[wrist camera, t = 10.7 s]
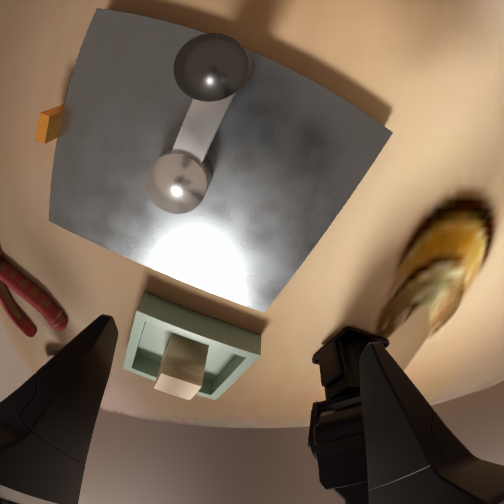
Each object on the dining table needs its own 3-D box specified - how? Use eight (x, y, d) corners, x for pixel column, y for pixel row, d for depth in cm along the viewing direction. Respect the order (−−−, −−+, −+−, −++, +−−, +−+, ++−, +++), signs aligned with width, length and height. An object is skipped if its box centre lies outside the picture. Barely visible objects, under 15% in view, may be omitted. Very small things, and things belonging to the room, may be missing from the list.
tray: (261, 335, 28) (260, 355, 26) (217, 383, 34) (215, 400, 32) (145, 291, 25) (136, 310, 23) (128, 352, 32) (122, 368, 30)
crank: (198, 209, 18) (173, 268, 13) (148, 187, 18) (106, 239, 13) (271, 63, 13) (274, 55, 8) (210, 38, 12) (179, 20, 7)
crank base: (383, 127, 16) (402, 138, 14) (264, 300, 25) (263, 326, 23) (97, 9, 12) (72, 4, 9) (49, 208, 21) (30, 225, 18)
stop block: (208, 345, 29) (201, 386, 25) (197, 362, 31) (189, 400, 27) (172, 332, 28) (161, 373, 24) (164, 350, 30) (153, 388, 26)
